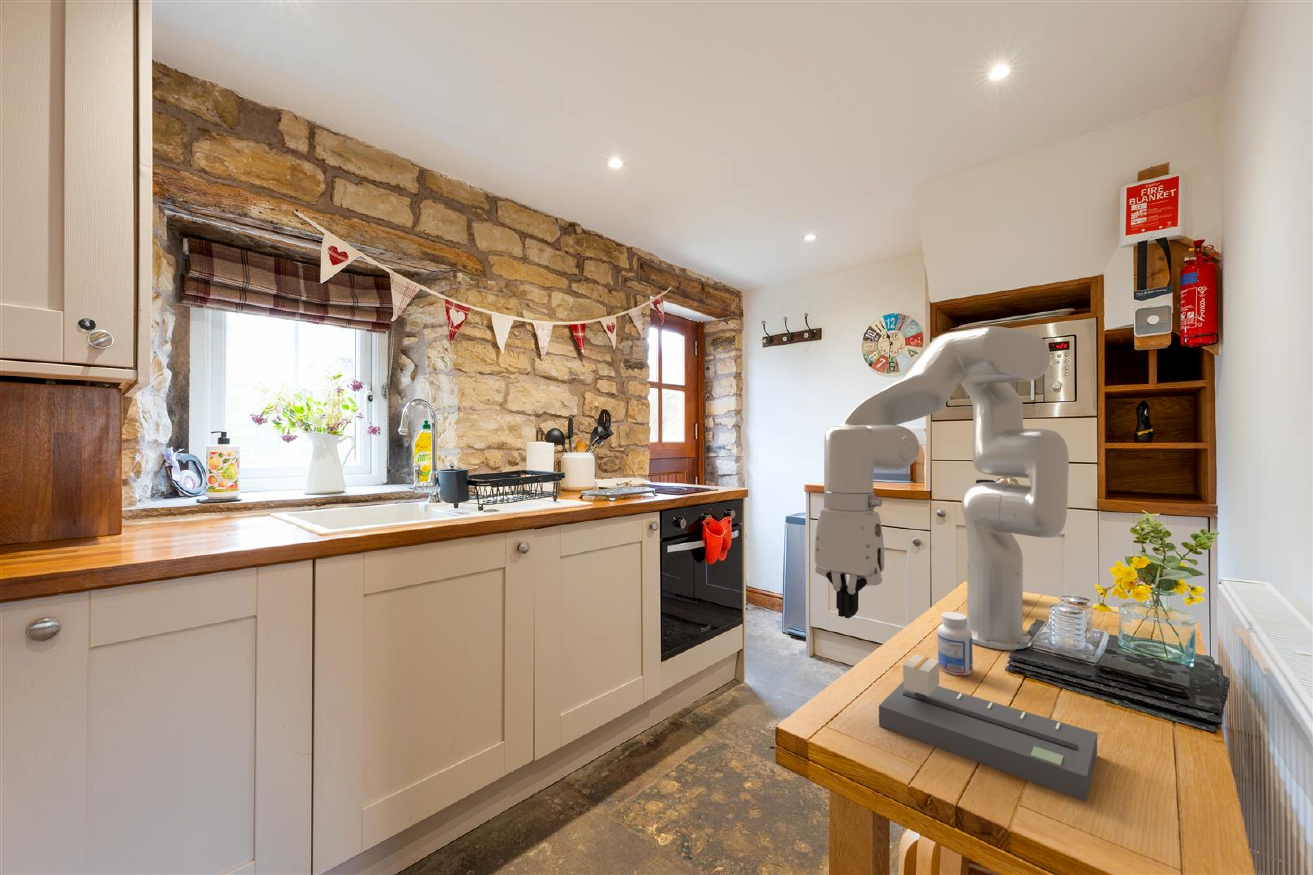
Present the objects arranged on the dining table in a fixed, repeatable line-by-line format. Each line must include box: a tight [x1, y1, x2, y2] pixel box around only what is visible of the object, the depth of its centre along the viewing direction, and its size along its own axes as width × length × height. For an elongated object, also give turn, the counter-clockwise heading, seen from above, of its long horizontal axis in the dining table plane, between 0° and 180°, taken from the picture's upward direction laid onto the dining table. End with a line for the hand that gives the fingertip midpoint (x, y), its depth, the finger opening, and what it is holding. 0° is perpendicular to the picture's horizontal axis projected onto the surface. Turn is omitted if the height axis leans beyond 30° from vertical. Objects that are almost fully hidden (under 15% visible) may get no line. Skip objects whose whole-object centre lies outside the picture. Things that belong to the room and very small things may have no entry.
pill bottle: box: [937, 611, 974, 676], centre depth 98 cm, size 6×5×10 cm
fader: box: [902, 654, 940, 699], centre depth 82 cm, size 5×4×5 cm
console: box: [878, 681, 1098, 803], centre depth 76 cm, size 12×24×3 cm, turn 47°
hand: (847, 615), depth 89 cm, fingers closed
